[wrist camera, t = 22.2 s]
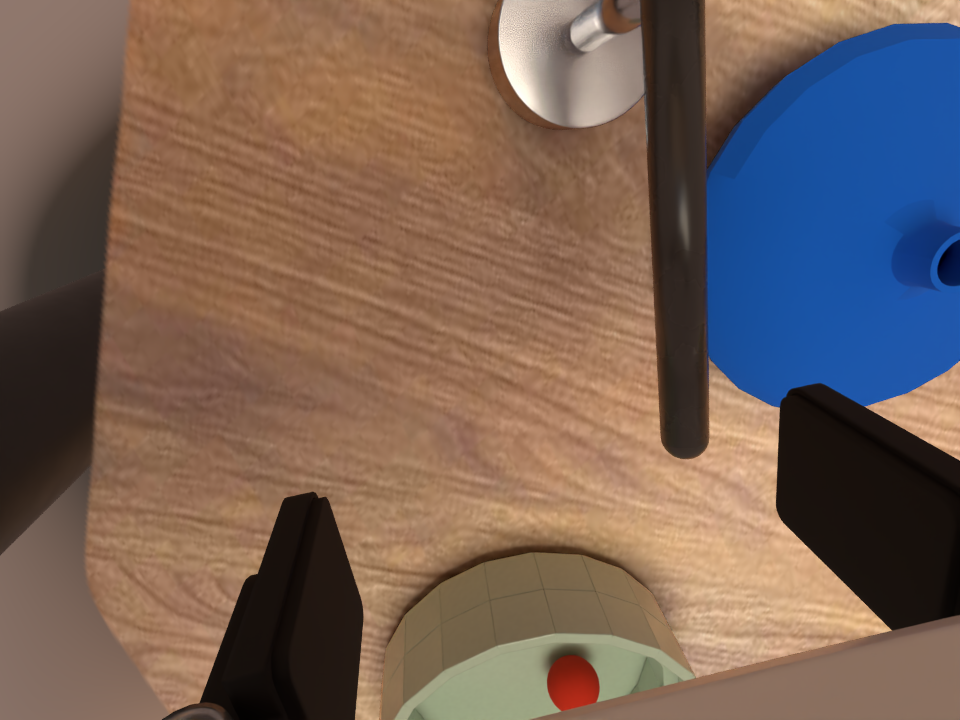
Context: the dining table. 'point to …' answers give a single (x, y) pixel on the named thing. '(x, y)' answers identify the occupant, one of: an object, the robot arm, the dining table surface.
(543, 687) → the bowl
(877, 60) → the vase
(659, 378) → the ladle
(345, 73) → the dining table surface
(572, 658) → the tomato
